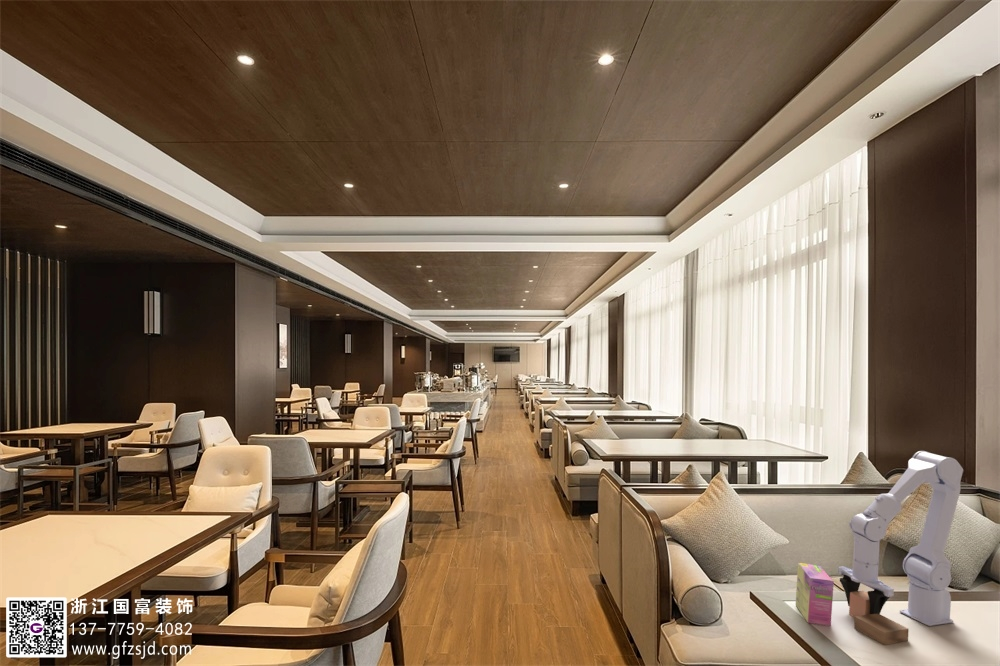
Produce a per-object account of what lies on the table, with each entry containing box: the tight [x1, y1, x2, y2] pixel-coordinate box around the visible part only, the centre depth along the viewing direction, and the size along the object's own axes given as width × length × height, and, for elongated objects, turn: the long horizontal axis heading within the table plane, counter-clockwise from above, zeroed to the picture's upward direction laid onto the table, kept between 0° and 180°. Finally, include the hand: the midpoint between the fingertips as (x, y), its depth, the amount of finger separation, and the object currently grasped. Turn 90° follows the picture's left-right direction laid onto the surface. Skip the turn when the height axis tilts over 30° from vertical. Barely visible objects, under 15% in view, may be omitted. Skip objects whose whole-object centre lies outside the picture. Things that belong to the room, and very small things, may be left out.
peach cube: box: [848, 590, 870, 618], centre depth 152 cm, size 5×5×6 cm
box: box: [795, 562, 835, 627], centre depth 152 cm, size 10×6×12 cm, turn 168°
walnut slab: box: [853, 613, 910, 646], centre depth 143 cm, size 8×8×3 cm
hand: (863, 611), depth 152 cm, fingers open, 6 cm apart
